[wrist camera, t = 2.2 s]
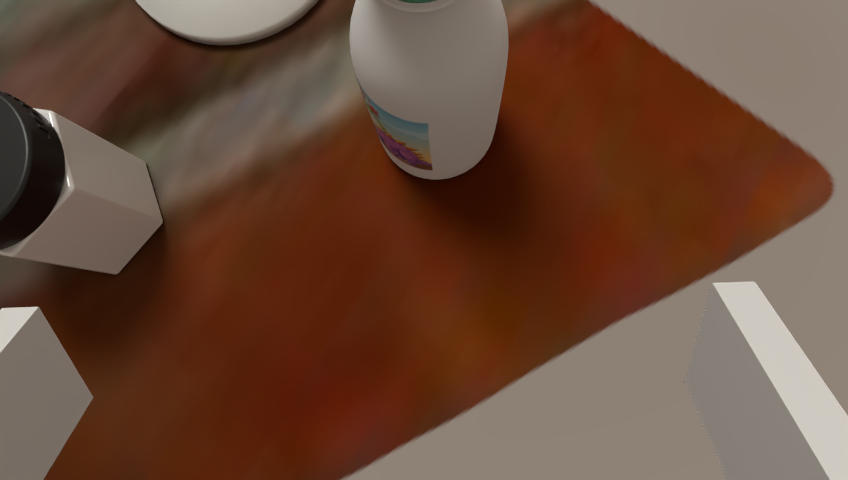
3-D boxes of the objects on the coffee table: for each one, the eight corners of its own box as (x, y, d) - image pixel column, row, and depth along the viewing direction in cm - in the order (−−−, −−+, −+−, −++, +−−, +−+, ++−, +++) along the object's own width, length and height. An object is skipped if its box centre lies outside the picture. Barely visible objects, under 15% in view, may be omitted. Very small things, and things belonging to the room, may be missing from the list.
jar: (178, 163, 39) (58, 91, 28) (150, 282, 38) (12, 260, 26) (55, 145, 40) (-114, 67, 28) (24, 261, 39) (-166, 230, 27)
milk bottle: (476, 58, 39) (497, -216, 20) (509, 164, 38) (565, -16, 18) (367, 89, 39) (277, -154, 20) (395, 195, 38) (330, 50, 18)
